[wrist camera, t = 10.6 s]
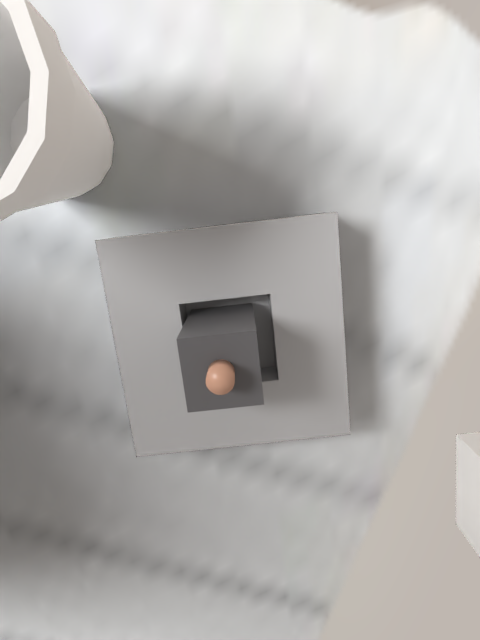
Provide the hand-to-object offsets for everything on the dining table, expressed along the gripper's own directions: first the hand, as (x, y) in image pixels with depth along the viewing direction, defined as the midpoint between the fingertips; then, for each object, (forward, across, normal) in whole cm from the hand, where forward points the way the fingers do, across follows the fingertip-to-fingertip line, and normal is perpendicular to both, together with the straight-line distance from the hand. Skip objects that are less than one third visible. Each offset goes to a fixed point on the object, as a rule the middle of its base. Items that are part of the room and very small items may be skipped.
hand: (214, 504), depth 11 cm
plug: (+18, 0, 0) cm, 18 cm away
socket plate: (+19, 0, 0) cm, 19 cm away
